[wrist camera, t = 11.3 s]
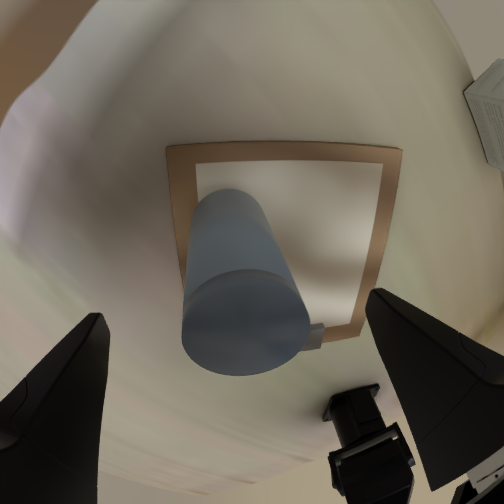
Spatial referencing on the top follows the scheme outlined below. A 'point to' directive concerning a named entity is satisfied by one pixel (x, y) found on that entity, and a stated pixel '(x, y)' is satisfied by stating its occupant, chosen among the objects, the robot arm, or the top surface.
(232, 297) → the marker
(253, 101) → the top surface
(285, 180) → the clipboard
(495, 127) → the supplement box
